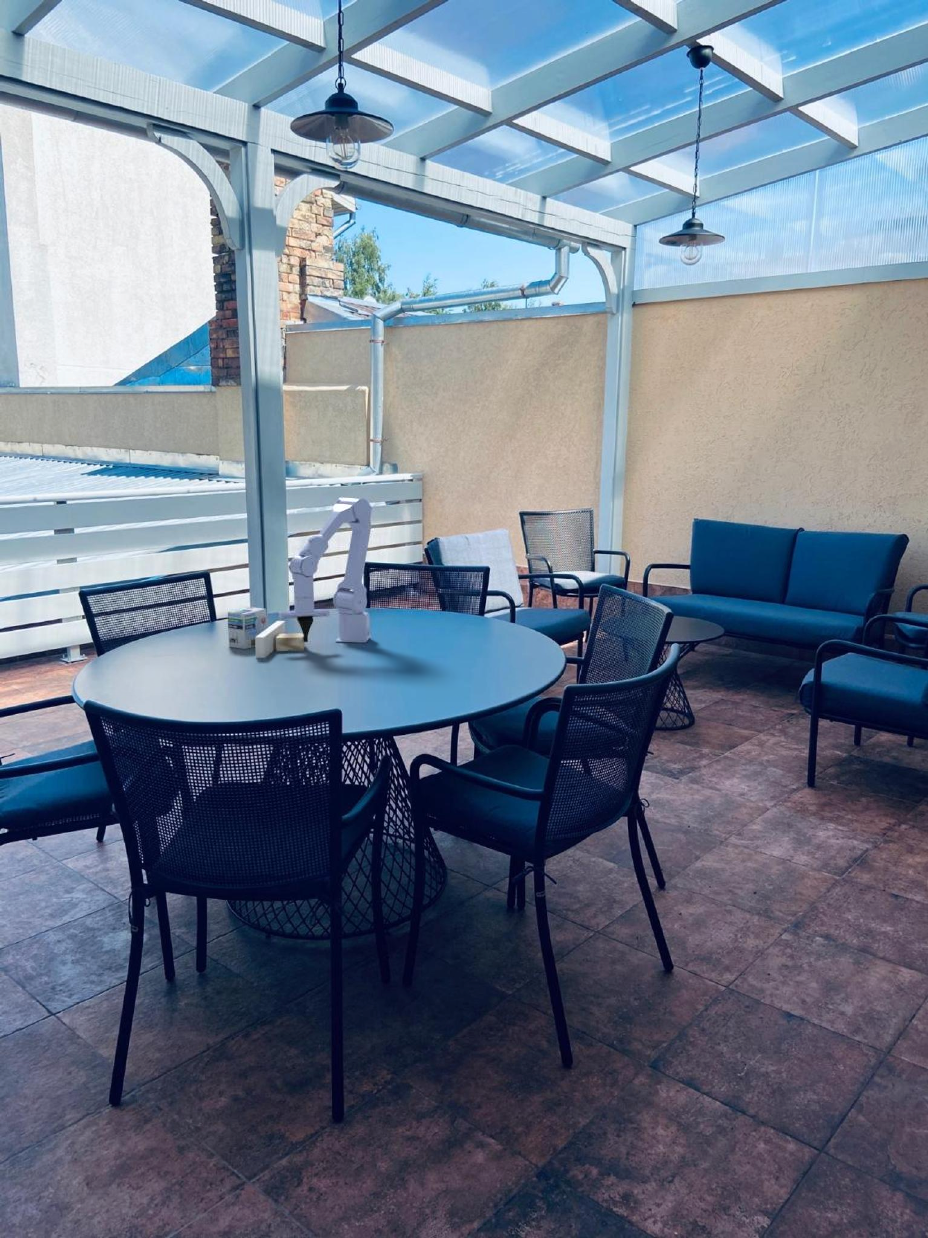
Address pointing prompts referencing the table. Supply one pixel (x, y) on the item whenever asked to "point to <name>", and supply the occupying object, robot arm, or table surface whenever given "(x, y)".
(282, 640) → the maple block
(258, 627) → the light bulb box
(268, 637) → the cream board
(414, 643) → the table surface
